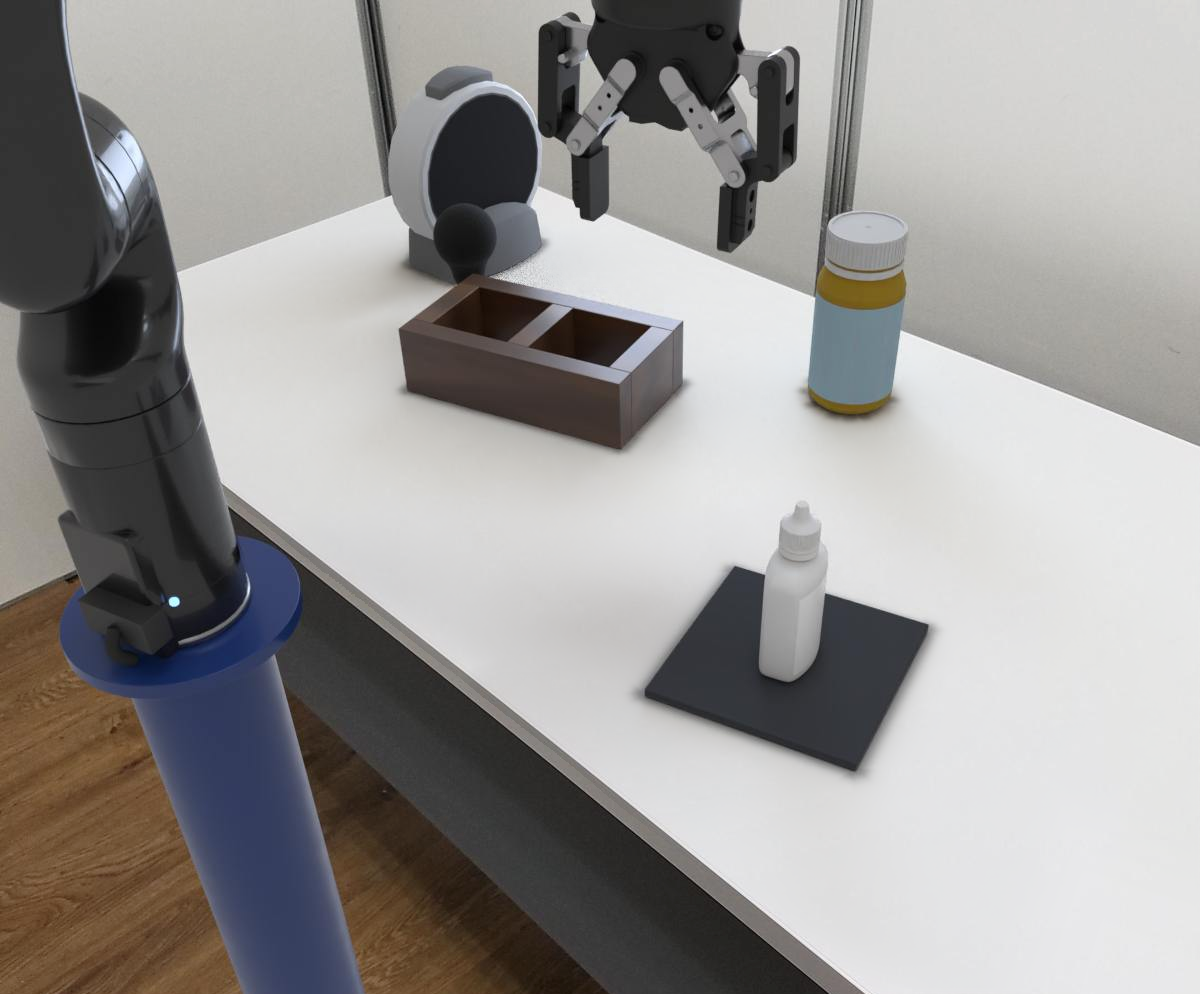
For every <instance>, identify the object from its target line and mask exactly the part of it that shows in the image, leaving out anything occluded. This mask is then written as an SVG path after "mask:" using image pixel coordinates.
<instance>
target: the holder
mask: <svg viewBox="0 0 1200 994" xmlns="http://www.w3.org/2000/svg"><path fill="white" fill-rule="evenodd" d="M397 330H398V336H399V343H400V351H401V356H402V363H403V370H404V377H405V384H406V390H407V391H408V392H410V393H414V394H418V395H422V396H424V397H428V398H433V399H436V400H440V401H443V402H447V403H451V404H455V405H458V406H462V407H466V408H468V409H473V410H477V411H480V412H483V413H487V414H490V415H494V416H498V417H502V418H505V419H508V420H512V421H516V422H520V423H523V424H527V425H531V426H534V427H538V428H541V429H545V430H548V431H552V432H556V433H560V434H564V435H567V436H571V437H574V438H577V439H582V440H585V441H589V442H593V443H597V444H600V445H603V446H607V447H610V448H615V449H618V450H622V449H623V448H624V447H625V446H626V444H627V443H629V441H630V440H631V439H632V438H633V437H634V436H635V435H636V434H637V433H638V432H639V430H641V428H643V426H644V425H646V423H647V422H648V421H649V420H650V419H651V418H652V417H653V416H654V415H655V414H656V412H658V410H660V409H661V408H662V406H663V405H664V404H665V403H666V402H667V401H668V400H669V399H670V398H671V397H672V396H673V394H674V393H675V392H676V391H677V390H678V389H679V388H680V387H681V386H682V385H683V379H684V378H683V377H684V376H683V375H684V371H683V370H684V320H681V319H677V318H673V317H668V316H665V315H664V316H663V315H658V314H654V313H650V312H646V311H645V312H644V311H641V310H637V309H632V308H627V307H623V306H618V305H615V304H609V303H606V302H601V301H598V300H597V301H596V300H593V299H587V298H583V297H579V296H575V295H571V294H566V293H561V292H557V291H553V290H548V289H545V288H540V287H534V286H530V285H527V284H522V283H517V282H512V281H508V280H503V279H500V278H494V277H490V276H487V277H486V276H482V275H478V274H471V275H470V276H469V277H467V278H466V279H465V280H463V281H462V282H461V283H459V284H458V285H457V284H456V285H455V286H454V287H452V288H451V289H450V290H448V291H447V292H445V293H444V294H443V295H442V296H440V297H439V298H438V299H436V300H435V301H434V302H432V303H431V304H430V305H428V306H426V307H425V308H424V309H423V310H421V311H420V312H419V313H417V314H416V315H415V316H413V317H412V318H411V319H409V320H408V321H407V322H405V323H404V324H403V325H401V326H400V327H399V328H398V329H397Z"/></svg>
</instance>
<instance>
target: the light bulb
mask: <svg viewBox="0 0 1200 994" xmlns="http://www.w3.org/2000/svg"><path fill="white" fill-rule="evenodd" d="M433 239H434V244H435V248H436V250H437V252H438V254H439V255H440V256H441V258H442V259H443V260H444V261H445V262H446V263H447V264H448V265H449V267H450V269H451V271H452V275H453V278H454V280H455V282H456V284H455V285H456V286H457V285H458V284H459V283H461V282H462V281H463V280H465V279H466V278H467V277H469V276H470V275H471V274H478V275H482V276H485V270H486V264H487V262H488V260H489V258H490V257H491V256H492V254H493V252H494V250H495V246H496V242H497V233H496V228H495V225H494V222H493V221H492V219H491V218H490V216H489V215H488V214H487V213H486V212H485V211H484V210H483V209H481V208H480V207H478V206H475V205H472V204H467V203H460V204H456V205H453V206H450V207H449V208H447V209H446V210H444V211H443V212H442V214H441V215H440V216H439V217H438V219H437V221H436V223H435V226H434V231H433Z"/></svg>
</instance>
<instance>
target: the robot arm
mask: <svg viewBox="0 0 1200 994" xmlns="http://www.w3.org/2000/svg"><path fill="white" fill-rule="evenodd" d="M67 2H68V1H67V0H0V304H2V306H6V307H8V308H11V309H14V310H15V311H18V312H19V328H18V337H17V344H16V353H15V354H16V355H15V361H16V363H15V364H16V370H17V372H18V373H17V374H18V377H19V381H20V382H21V386H22V389H23V392H24V394H25V397H26V400H27V402H28V403H29V404H28V405H29V406H30V409H31V412H32V415H33V418H34V420H35V423H36V426H37V428H38V432H39V433H40V436H41V439H42V441H43V444H44V447H45V451H46V453H47V455H48V458H49V461H50V464H51V467H52V469H53V472H54V475H55V477H56V480H57V482H58V486H59V488H60V490H61V493H62V496H63V498H64V501H65V504H66V506H67V509H66V510H64V511H63V512H62V513H60V514H59V515H58V517H57V524H58V527H59V528H60V529H59V530H60V531H61V534H62V537H63V539H64V543H65V544H66V547H67V550H68V553H69V555H70V558H71V560H72V563H73V565H74V568H75V571H76V574H77V575H78V579H79V581H80V585H82V587H83V589H84V592H85V594H84V595H83V596H82V597H81V598H79V599H78V603H79V605H80V608H81V611H82V613H83V616H84V618H85V621H86V623H87V626H88V629H90V630H92V631H95V632H97V633H99V634H102V635H104V636H106V637H105V650H106V653H107V655H108V656H109V658H110V659H111V660H113V661H115V662H117V663H119V664H123V665H128V666H130V667H131V666H134V665H135V664H136V663H137V662H138V659H139V658H138V655H137V654H135V653H133V652H130V651H126V650H122V649H121V647H120V642H121V643H124V644H126V645H129V646H131V647H133V648H136V649H138V650H141V651H143V652H146V653H148V654H150V655H153V654H154V655H157V656H159V657H162V658H164V659H168V658H170V657H171V656H173V655H174V654H175V653H176V652H178V651H179V650H181V649H183V648H188V647H192V646H195V645H198V644H201V643H204V642H206V641H208V640H211V639H213V638H215V637H217V636H219V635H220V634H222V633H224V632H225V631H227V630H228V629H229V628H231V627H232V626H233V625H234V624H235V623H236V622H238V621H239V620H240V618H241V617H242V616H243V615H244V613H245V612H246V610H247V609H248V607H249V604H250V601H251V597H252V589H251V585H250V581H249V578H248V575H247V573H246V572H245V569H244V565H243V561H242V558H241V554H240V550H239V546H240V544H239V546H238V543H239V541H238V543H237V540H238V537H237V539H236V536H238V535H237V531H236V528H235V527H234V523H233V521H232V517H231V514H230V511H229V505H228V502H227V499H226V496H225V492H224V488H223V484H222V480H221V477H220V473H219V470H218V466H217V462H216V458H215V455H214V452H213V448H212V444H211V439H210V437H209V432H208V429H207V426H206V422H205V419H204V414H203V410H202V407H201V403H200V399H199V395H198V392H197V388H196V384H195V380H194V376H193V373H192V369H191V367H190V362H189V358H188V355H187V350H186V346H185V313H184V300H183V295H182V289H181V284H180V280H179V275H178V272H177V268H176V262H175V258H174V254H173V249H172V246H171V240H170V236H169V232H168V227H167V223H166V219H165V214H164V210H163V207H162V202H161V198H160V195H159V191H158V188H157V184H156V181H155V178H154V175H153V171H152V169H151V166H150V164H149V161H148V159H147V156H146V155H145V153H144V151H143V149H142V146H141V145H140V142H139V141H138V140H137V138H136V137H135V135H134V134H133V132H132V131H131V130H130V129H129V127H128V126H127V125H126V124H125V122H124V121H123V120H122V119H121V118H120V117H119V116H118V115H117V114H116V113H115V112H114V111H113V110H112V109H110V108H109V107H108V106H106V105H105V104H103V103H102V102H101V101H99V100H97V99H96V98H94V97H92V96H90V95H88V94H86V93H83V92H81V91H79V89H78V84H77V80H76V76H75V69H74V65H73V60H72V59H73V58H72V53H71V48H70V47H71V46H70V38H69V37H70V36H69V28H68V16H67V15H68V12H67V11H68V9H67V7H68V6H67V5H68V4H67ZM590 2H591V6H592V8H593V11H594V18H593V19H594V20H593V24H589V23H585V22H582V20H581V18H580V17H579V15H578V14H577V13H575V12H573V11H568V12H565V13H564V14H562V15H559V16H558V17H555V18H553V19H551V20H549V21H548V22H545V23H544V24H542V25H541V26H540V27H539V29H538V33H537V35H538V37H537V38H538V42H537V43H538V44H537V45H538V48H537V49H538V50H537V53H538V54H537V59H538V60H537V123H538V129H539V132H540V135H541V136H542V137H544V138H546V139H552V138H555V139H557V140H558V141H560V142H562V143H563V144H564V145H565V146H566V148H567V150H568V151H569V153H570V165H571V167H570V168H571V169H570V170H571V199H572V202H573V205H574V207H575V208H577V209H579V217H580V219H581V220H584V221H587V222H595V221H597V220H598V219H599V218H601V217H602V216H603V215H605V214H607V212H608V210H609V206H610V146H609V145H606V144H603V141H604V140H605V139H606V138H607V136H608V135H609V134H610V133H611V131H612V130H613V129H614V128H615V126H616V125H617V124H618V122H619V121H620V119H621V118H622V117H623V116H627V117H628V122H629V123H633V124H639V125H645V124H654V123H655V124H657V125H659V126H661V127H663V128H665V129H667V130H672V131H676V132H683V131H685V130H686V129H689V131H690V132H691V134H692V136H693V138H694V140H695V141H696V143H697V145H698V147H699V148H700V149H701V150H702V151H703V152H705V153H707V154H709V155H710V157H711V158H712V161H713V162H714V164H715V167H717V169H718V171H719V173H720V174H721V176H722V178H723V180H724V181H725V182H723V183H721V185H719V194H718V215H717V218H718V219H717V233H716V249H717V251H719V252H724V253H727V254H732V253H733V252H734V251H735V250H736V249H737V248H738V247H740V246H741V245H742V243H743V242H745V241H746V240H747V239H748V238H749V237H750V236H751V235H752V233H753V231H754V230H755V228H756V215H757V203H758V188H759V182H764V183H772V182H775V181H776V180H777V179H778V178H779V177H780V176H781V174H783V173H784V172H785V171H786V170H788V169H789V168H791V167H792V166H793V165H794V164H795V163H796V162H797V158H798V138H799V137H798V133H799V106H800V105H799V103H800V102H799V101H800V75H801V68H800V67H801V55H800V52H799V51H798V50H797V49H796V48H795V47H794V46H791V45H785V46H783V47H782V48H780V49H777V50H776V51H769V50H768V51H767V50H757V49H756V50H755V49H746V46H745V43H744V42H743V39H742V36H741V31H740V22H741V14H742V11H743V10H742V9H743V0H590ZM587 55H589V58H590V59H591V61H592V62H593V63H592V64H594V66H595V68H596V70H597V72H598V73H599V76H600V77H601V79H602V81H603V83H602V84H601V86H600V87H599V88H598V90H597V92H596V93H595V94H594V96H593V97H592V98H591V100H590V101H589V103H588V104H587V105H586V107H585V108H584V109H583V111H582V112H581V113H580V88H581V87H580V86H581V85H580V84H581V63H582V62H583V61H585V60H586V58H587ZM741 76H742V77H743V78H744V79H745V80H746V82H747V84H748V90H749V95H750V96H751V97H752V98H754V99H756V100H757V101H756V102H757V103H756V142H755V139H754V138H753V136H752V133H751V132H750V131H749V129H748V118H747V115H746V113H745V112H744V109H743V107H742V106H741V104H740V102H739V101H738V98H737V97H736V95H735V93H734V92H733V90H732V87H733V85H734V84H735V83H736V82H737V80H738V79H739V78H740V77H741ZM712 112H714V114H715V115H716V118H717V121H716V120H715V118H714V116H713V114H712ZM240 549H241V547H240ZM241 553H242V550H241ZM242 556H243V554H242ZM243 559H244V558H243ZM244 563H245V562H244ZM245 566H246V565H245Z"/></svg>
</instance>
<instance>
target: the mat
mask: <svg viewBox="0 0 1200 994" xmlns="http://www.w3.org/2000/svg"><path fill="white" fill-rule="evenodd" d="M764 582H765V573H761V572H757V571H754V570H751V569H747V568H744V567H741V566H737V565H734V566H733V567H732V568H731V570H730V572H729V573H728V575H727V576H726V577H725V579H724V580H723V581H722V582H721V584H720V585H719V587H718V588H717V589H716V591H715V592H714V593H713V595H712V596H711V597H710V599H709V600H708V602H706V605H705V606H704V607H703V609H702V610H701V611H700V613H699V614H698V616H697V617H696V618H695V619H694V620H693V622H692V623H691V625H690V626H689V628H688V629H687V630H686V632H685V633H684V634H683V636H682V638H681V639H680V640H679V641H678V642H677V644H676V646H675V647H674V648H673V650H672V651H671V653H670V654H669V655H668V657H667V658H666V660H664V662H663V663H662V664H661V666H660V667H659V669H658V670H657V672H656V673H655V674H654V676H653V677H652V679H651V680H650V681H649V683H648V684H647V685H646V687H645V688H644V697H647V698H650V699H653V700H655V701H659V702H661V703H664V704H666V705H669V706H672V707H675V708H677V709H680V710H683V711H686V712H689V713H692V714H694V715H697V716H700V717H702V718H706V719H709V720H712V721H714V722H717V723H720V724H723V725H726V726H728V727H731V728H734V729H736V730H739V731H742V732H745V733H748V734H751V735H753V736H756V737H759V738H762V739H764V740H768V741H770V742H773V743H776V744H779V745H781V746H784V747H787V748H790V749H793V750H796V751H799V752H802V753H804V754H806V755H810V756H812V757H815V758H818V759H821V760H824V761H827V762H829V763H832V764H835V765H838V766H840V767H843V768H846V769H848V770H852V771H857V769H858V767H859V765H860V762H861V761H862V759H863V757H864V755H865V753H866V751H867V749H868V747H869V745H870V743H871V741H872V739H873V738H874V736H875V733H876V732H877V730H878V727H879V726H880V723H882V720H883V718H884V716H885V714H886V712H887V710H888V709H889V707H890V705H891V703H892V700H893V699H894V697H895V695H896V693H897V691H898V690H899V687H900V685H901V684H902V682H903V679H904V678H905V676H906V675H907V674H906V673H907V672H908V670H909V668H910V666H911V664H912V662H913V660H914V658H915V656H916V654H917V652H918V650H919V648H920V646H921V645H922V642H923V641H924V639H925V637H926V635H927V633H928V631H929V626H930V625H929V624H928V623H926V622H923V621H919V620H915V619H912V618H909V617H905V616H902V615H899V614H895V613H892V612H889V611H886V610H882V609H879V608H877V607H874V606H869V605H866V604H863V603H860V602H856V601H853V600H849V599H846V598H844V597H840V596H836V595H834V594H833V595H832V594H830V593H826V592H825V598H824V607H823V616H822V625H821V634H820V643H819V649H818V653H817V655H816V658H815V660H814V662H813V663H812V665H811V666H810V667H809V669H808V670H807V671H806V672H805V673H804V674H803V675H801V676H800V677H799V678H797V679H796V680H794V681H791V682H785V681H781V680H778V679H774V678H771V677H768V676H765V675H763V674H762V673H761V672H760V669H759V651H760V637H761V622H762V608H763V594H764Z"/></svg>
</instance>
